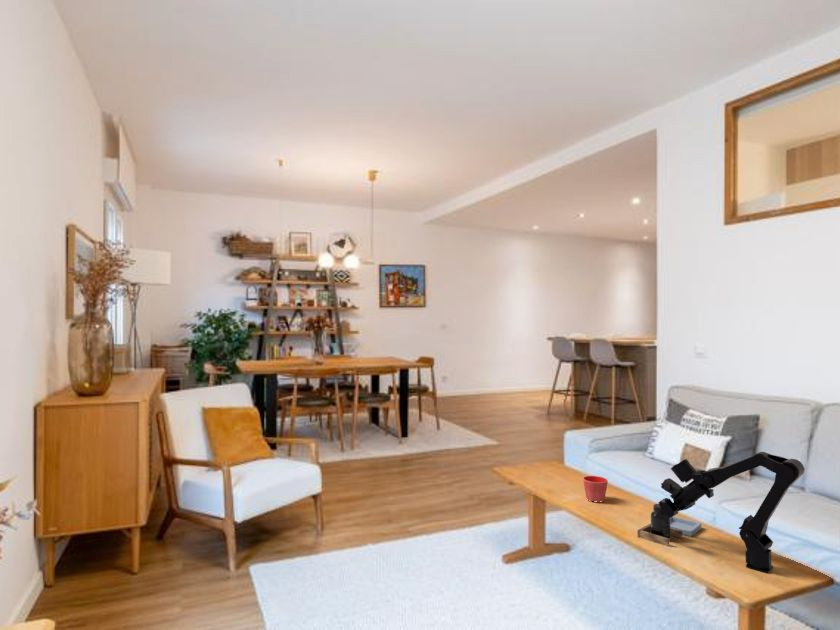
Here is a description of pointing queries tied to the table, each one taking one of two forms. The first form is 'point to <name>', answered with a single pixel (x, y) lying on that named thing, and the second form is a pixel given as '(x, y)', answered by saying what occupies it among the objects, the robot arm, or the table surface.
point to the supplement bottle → (660, 524)
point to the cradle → (655, 538)
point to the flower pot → (595, 488)
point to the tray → (685, 526)
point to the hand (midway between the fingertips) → (661, 514)
